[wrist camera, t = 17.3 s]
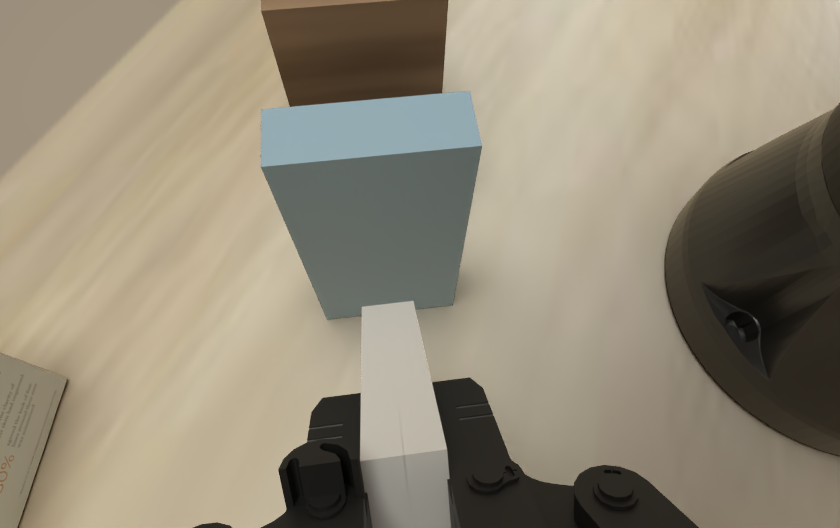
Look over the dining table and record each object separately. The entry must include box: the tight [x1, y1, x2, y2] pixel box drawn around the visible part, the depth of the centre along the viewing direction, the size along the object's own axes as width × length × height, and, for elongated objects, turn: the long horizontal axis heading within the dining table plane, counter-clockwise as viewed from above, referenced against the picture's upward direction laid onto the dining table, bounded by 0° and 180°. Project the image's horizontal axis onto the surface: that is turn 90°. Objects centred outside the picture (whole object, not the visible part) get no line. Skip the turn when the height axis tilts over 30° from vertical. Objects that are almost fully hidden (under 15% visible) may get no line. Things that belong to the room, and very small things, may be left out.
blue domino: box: [261, 91, 482, 320], centre depth 20 cm, size 2×6×12 cm, turn 97°
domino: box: [261, 0, 448, 107], centre depth 23 cm, size 2×6×12 cm, turn 97°
